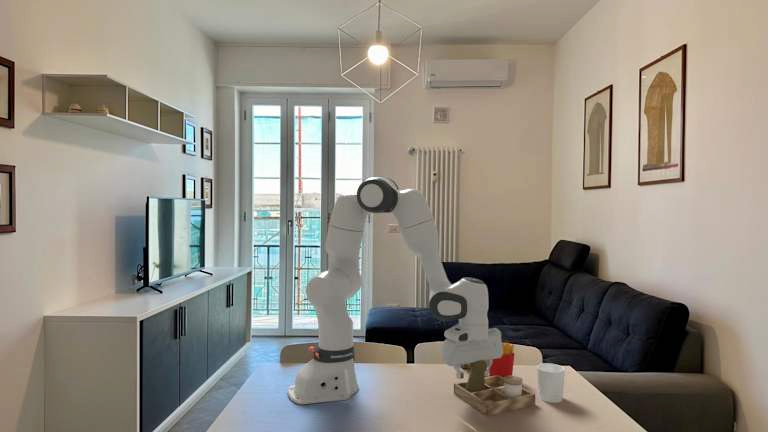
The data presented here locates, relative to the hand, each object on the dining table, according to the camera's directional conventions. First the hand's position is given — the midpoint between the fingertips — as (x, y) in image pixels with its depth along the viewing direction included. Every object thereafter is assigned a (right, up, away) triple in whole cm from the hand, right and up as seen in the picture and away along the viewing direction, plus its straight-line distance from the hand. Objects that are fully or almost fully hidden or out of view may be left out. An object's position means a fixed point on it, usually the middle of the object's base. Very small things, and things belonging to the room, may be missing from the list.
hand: (473, 375), depth 144 cm
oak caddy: (+6, -7, -2) cm, 9 cm away
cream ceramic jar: (+11, -6, -4) cm, 13 cm away
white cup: (+23, -7, -2) cm, 24 cm away
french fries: (+12, -7, +14) cm, 19 cm away
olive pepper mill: (0, -6, 0) cm, 6 cm away
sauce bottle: (+3, -6, +28) cm, 29 cm away
